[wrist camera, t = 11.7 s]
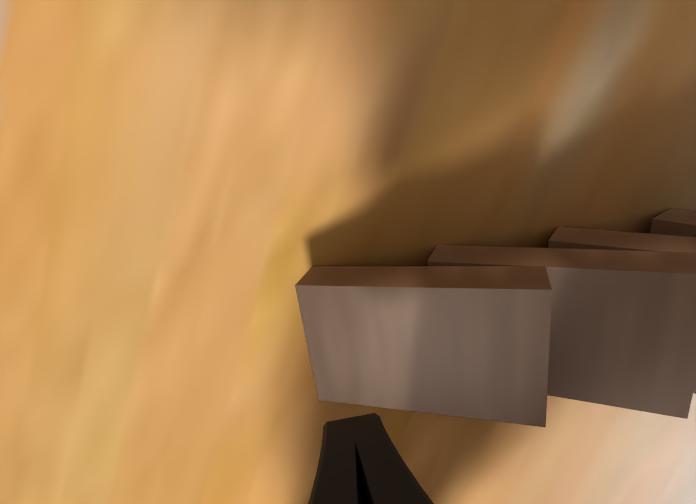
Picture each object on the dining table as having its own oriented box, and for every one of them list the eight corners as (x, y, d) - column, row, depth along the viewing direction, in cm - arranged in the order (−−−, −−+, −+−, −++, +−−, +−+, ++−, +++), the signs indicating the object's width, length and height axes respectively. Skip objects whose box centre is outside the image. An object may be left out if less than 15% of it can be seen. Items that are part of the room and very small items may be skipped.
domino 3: (558, 226, 16) (878, 251, 11) (551, 334, 18) (824, 396, 13) (548, 240, 15) (898, 275, 10) (542, 354, 17) (837, 429, 12)
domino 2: (437, 244, 16) (700, 252, 12) (443, 352, 18) (674, 385, 14) (427, 261, 14) (718, 275, 11) (434, 376, 16) (687, 418, 13)
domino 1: (312, 265, 15) (545, 265, 13) (332, 373, 17) (539, 393, 15) (295, 285, 14) (551, 289, 11) (318, 400, 16) (545, 427, 13)
